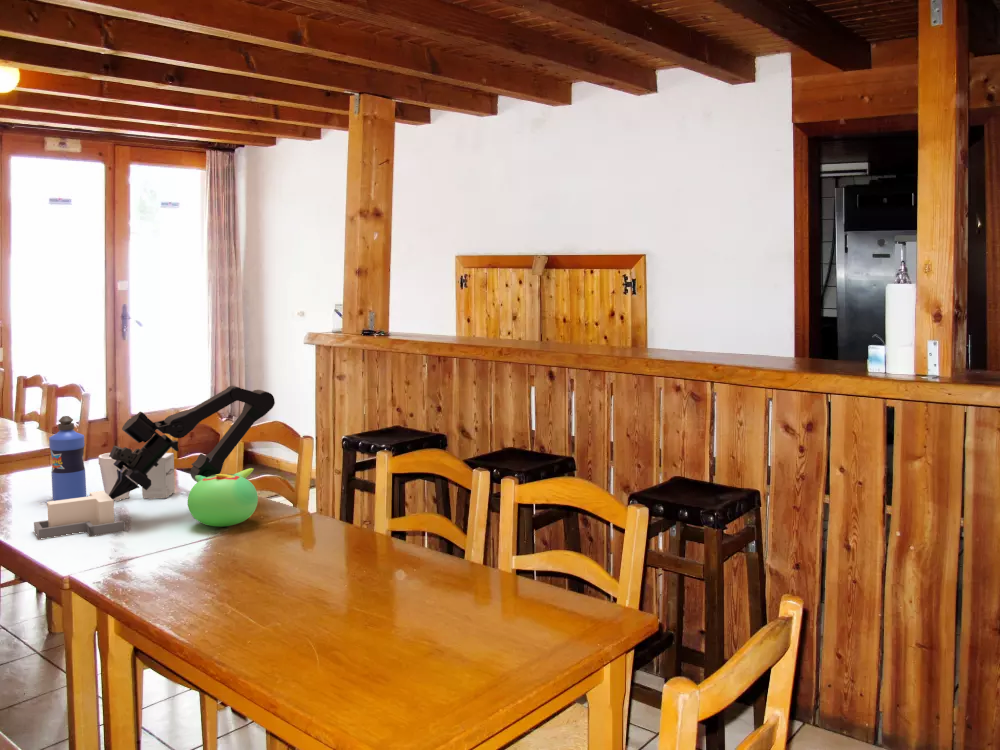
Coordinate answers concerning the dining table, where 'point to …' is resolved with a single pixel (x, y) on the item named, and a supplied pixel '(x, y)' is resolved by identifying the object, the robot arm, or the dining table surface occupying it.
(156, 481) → the supplement box
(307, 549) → the dining table surface
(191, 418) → the robot arm
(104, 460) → the foam cup
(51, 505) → the t block
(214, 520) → the green rounded blob
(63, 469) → the water bottle
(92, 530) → the t outline
